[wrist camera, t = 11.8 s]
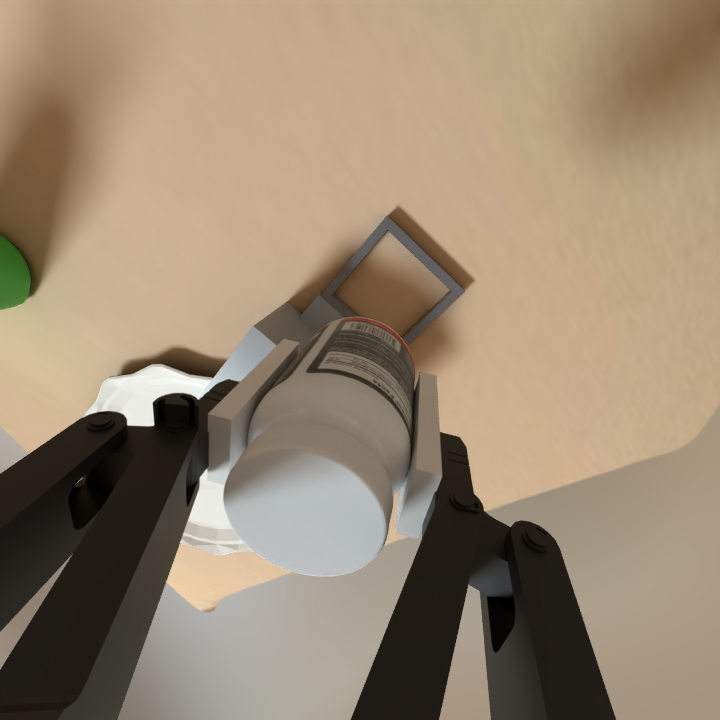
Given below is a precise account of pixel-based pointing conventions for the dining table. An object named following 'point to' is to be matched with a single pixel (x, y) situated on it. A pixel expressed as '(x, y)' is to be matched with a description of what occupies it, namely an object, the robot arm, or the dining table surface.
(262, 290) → the dining table surface
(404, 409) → the pill bottle
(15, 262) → the bottle
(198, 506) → the plate
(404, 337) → the housing
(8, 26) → the dining table surface
